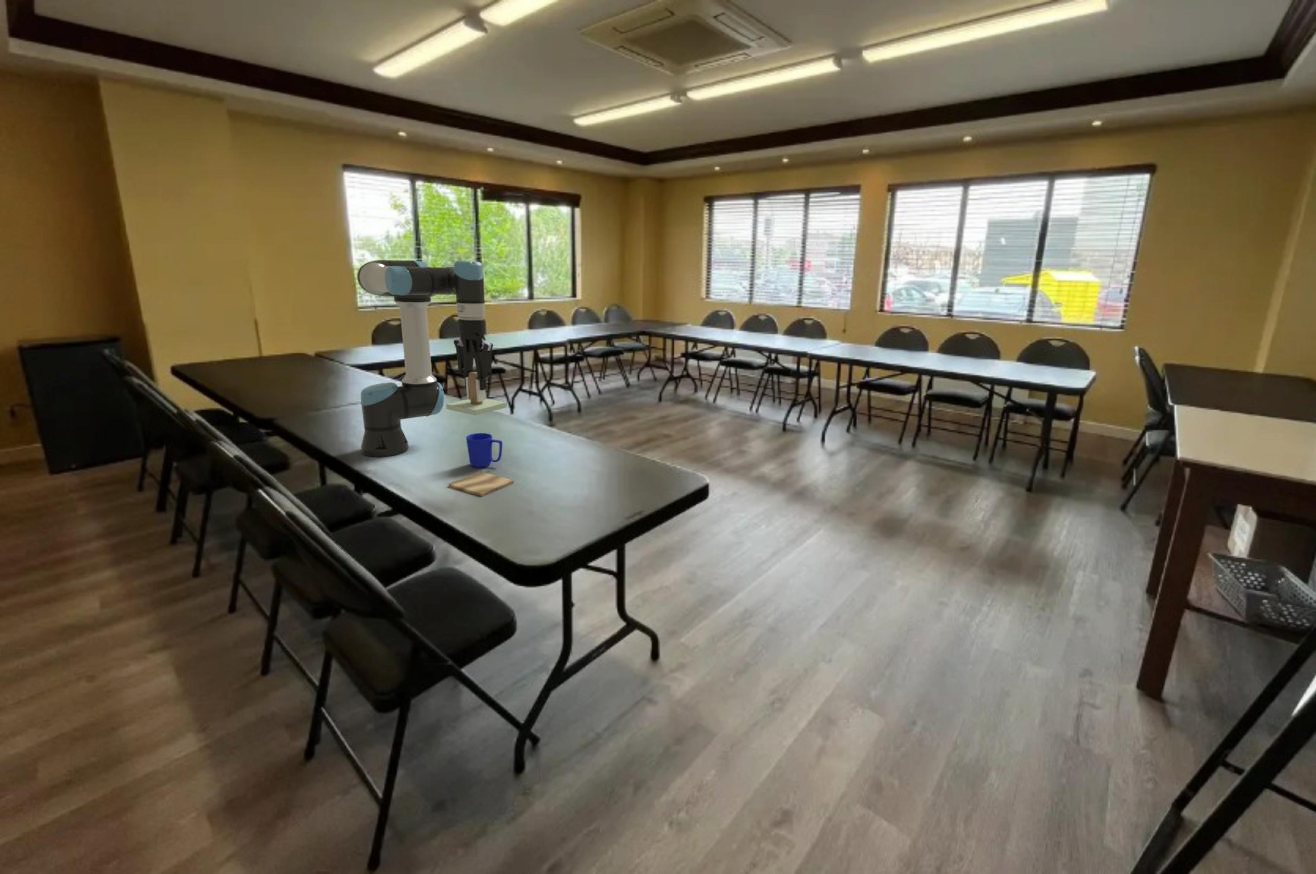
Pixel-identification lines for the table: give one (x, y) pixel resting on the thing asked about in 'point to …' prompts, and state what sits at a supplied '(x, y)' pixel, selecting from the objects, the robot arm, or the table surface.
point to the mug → (481, 449)
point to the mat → (481, 483)
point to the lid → (475, 401)
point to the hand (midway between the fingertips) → (476, 399)
